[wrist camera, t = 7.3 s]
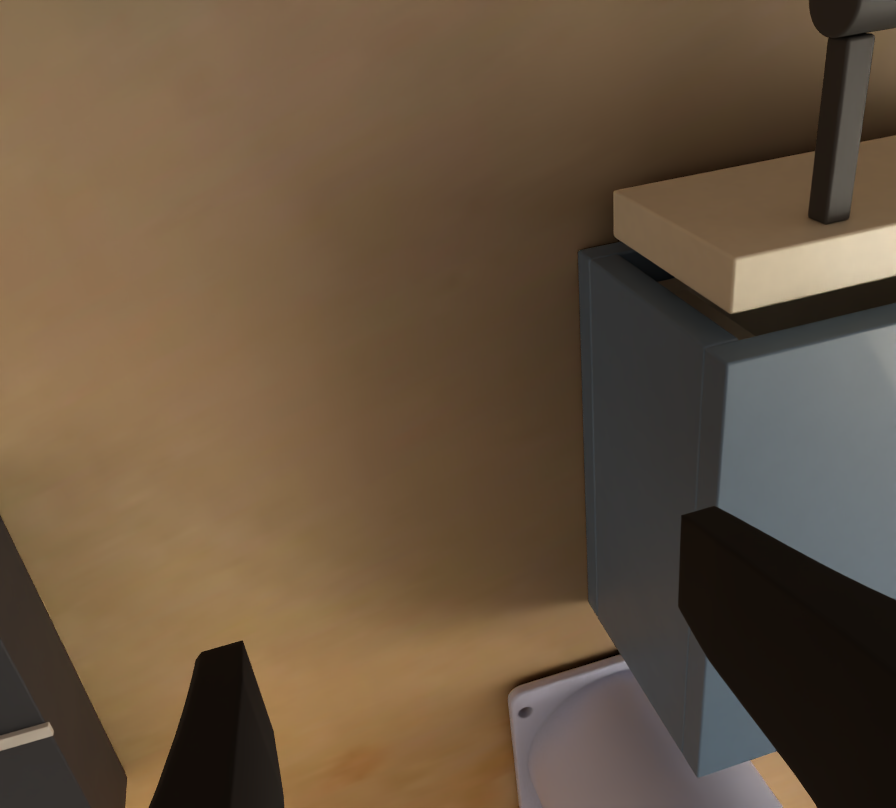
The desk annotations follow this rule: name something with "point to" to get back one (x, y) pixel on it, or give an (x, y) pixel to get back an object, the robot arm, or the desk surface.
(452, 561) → the desk surface
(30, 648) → the control panel
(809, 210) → the drawer
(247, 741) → the robot arm
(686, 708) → the compartment
